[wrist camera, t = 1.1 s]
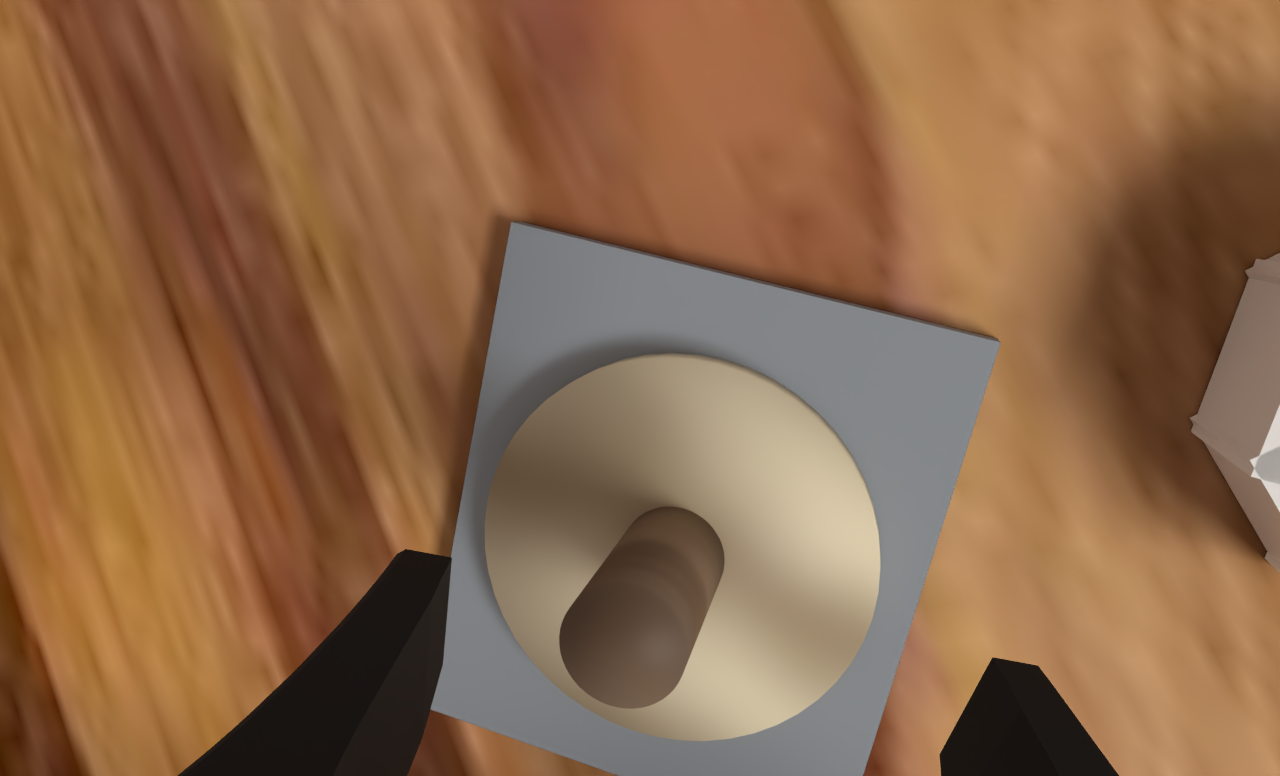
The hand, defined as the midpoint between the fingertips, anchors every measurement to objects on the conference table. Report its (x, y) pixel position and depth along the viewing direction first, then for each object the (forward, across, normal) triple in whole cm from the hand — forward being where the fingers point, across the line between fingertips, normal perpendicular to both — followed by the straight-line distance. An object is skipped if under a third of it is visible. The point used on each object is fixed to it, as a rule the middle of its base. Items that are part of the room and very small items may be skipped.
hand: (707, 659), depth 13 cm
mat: (+10, -1, +7) cm, 12 cm away
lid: (+10, 0, +7) cm, 12 cm away
